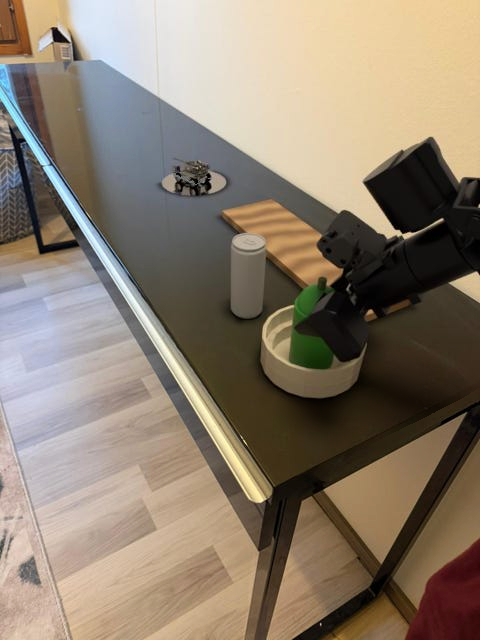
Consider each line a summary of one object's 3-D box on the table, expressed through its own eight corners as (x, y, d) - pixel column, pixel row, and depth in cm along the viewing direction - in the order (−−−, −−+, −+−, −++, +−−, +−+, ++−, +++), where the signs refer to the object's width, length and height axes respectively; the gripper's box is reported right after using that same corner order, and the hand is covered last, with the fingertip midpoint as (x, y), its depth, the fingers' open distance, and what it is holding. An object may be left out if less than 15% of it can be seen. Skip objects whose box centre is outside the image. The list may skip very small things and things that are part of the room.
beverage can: (241, 297, 72) (242, 229, 64) (268, 307, 70) (272, 238, 62) (224, 313, 69) (224, 243, 61) (252, 324, 67) (255, 253, 59)
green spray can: (337, 349, 61) (353, 271, 53) (326, 378, 57) (341, 298, 49) (296, 337, 63) (305, 261, 55) (282, 365, 59) (290, 286, 51)
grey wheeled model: (193, 165, 115) (192, 143, 111) (239, 180, 108) (239, 158, 104) (148, 183, 106) (145, 159, 102) (195, 201, 99) (194, 177, 95)
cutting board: (408, 305, 71) (411, 298, 70) (348, 329, 66) (350, 321, 65) (271, 205, 98) (271, 198, 97) (221, 217, 93) (221, 210, 92)
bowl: (367, 346, 63) (375, 318, 60) (346, 414, 54) (353, 385, 51) (279, 322, 67) (282, 294, 64) (245, 381, 58) (246, 352, 55)
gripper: (398, 166, 50) (297, 232, 61) (344, 239, 37) (228, 305, 48) (451, 246, 52) (344, 296, 63) (417, 341, 40) (290, 383, 51)
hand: (306, 316), depth 56 cm, fingers closed on green spray can, 6 cm apart
